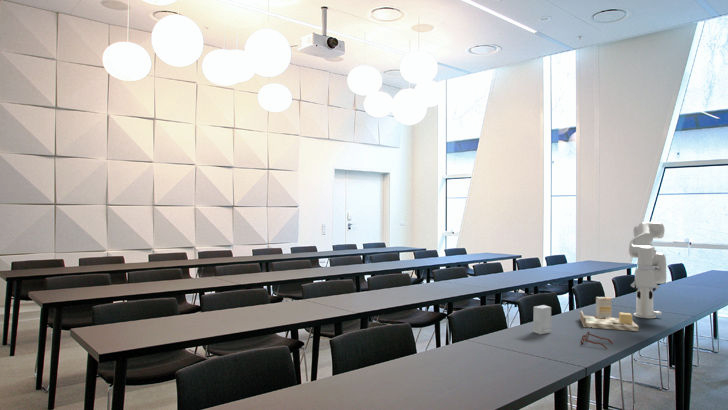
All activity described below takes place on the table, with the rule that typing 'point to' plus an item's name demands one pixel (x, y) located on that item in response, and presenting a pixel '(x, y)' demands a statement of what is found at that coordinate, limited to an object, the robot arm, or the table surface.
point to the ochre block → (625, 317)
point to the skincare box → (542, 319)
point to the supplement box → (603, 307)
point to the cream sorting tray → (606, 323)
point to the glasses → (591, 341)
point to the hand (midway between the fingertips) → (644, 298)
